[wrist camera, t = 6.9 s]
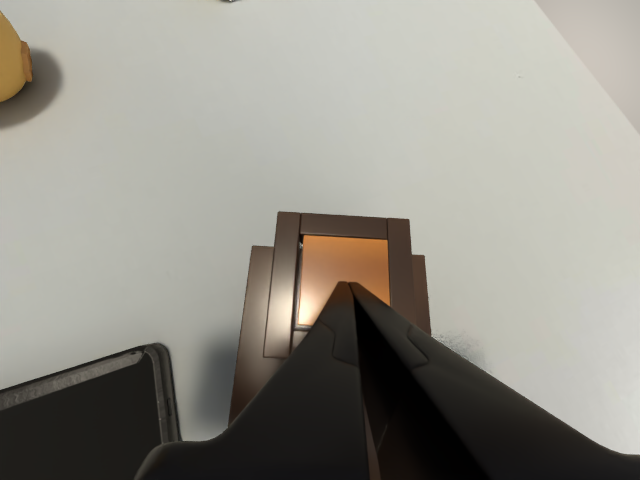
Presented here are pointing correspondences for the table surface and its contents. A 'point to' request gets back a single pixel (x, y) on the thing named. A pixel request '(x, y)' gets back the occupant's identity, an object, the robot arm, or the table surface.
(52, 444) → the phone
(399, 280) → the stepped brown pedestal
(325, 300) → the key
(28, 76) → the stress ball
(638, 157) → the table surface
